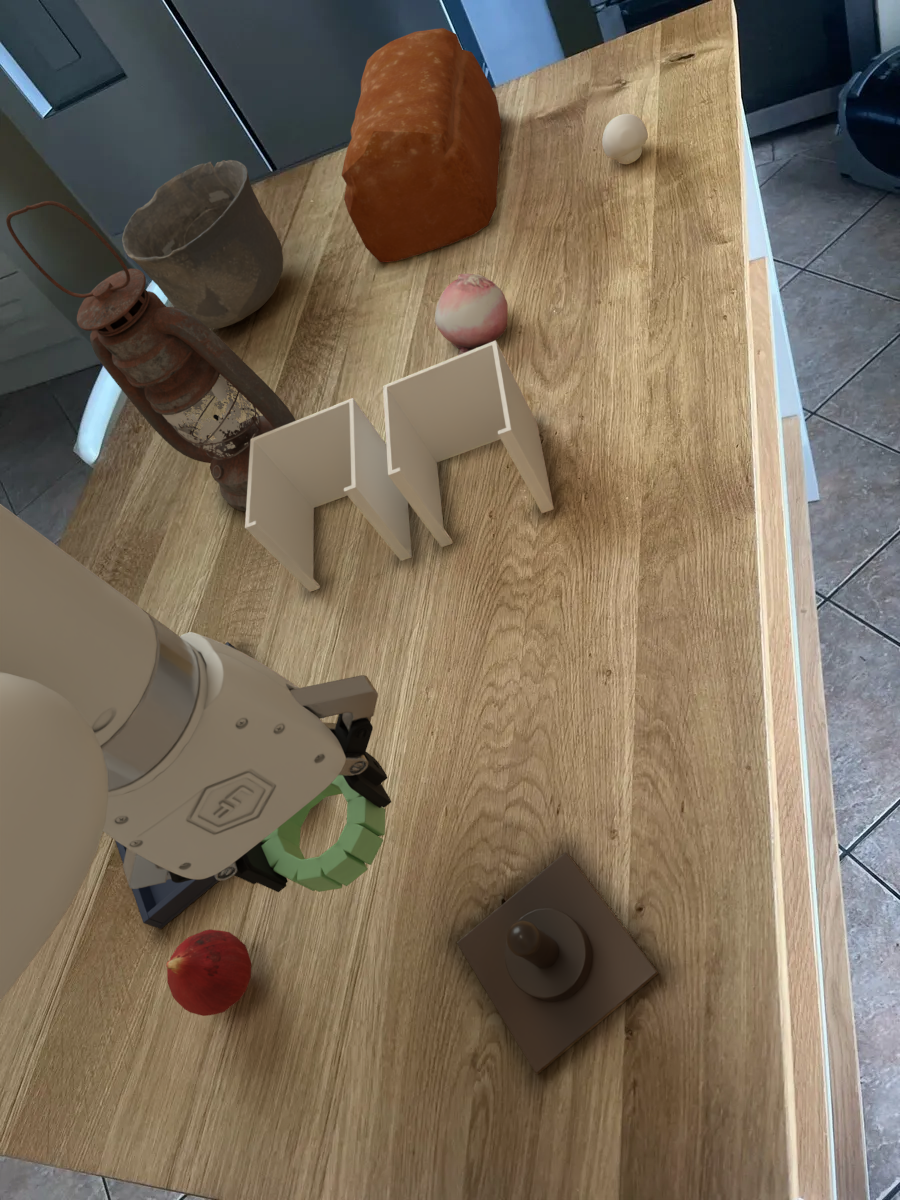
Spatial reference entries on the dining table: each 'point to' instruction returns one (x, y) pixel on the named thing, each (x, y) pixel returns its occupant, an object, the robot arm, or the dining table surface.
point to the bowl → (208, 244)
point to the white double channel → (389, 456)
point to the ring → (338, 860)
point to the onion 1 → (209, 972)
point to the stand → (555, 961)
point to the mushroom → (624, 138)
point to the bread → (422, 147)
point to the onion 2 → (471, 312)
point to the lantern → (175, 371)
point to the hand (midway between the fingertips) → (324, 826)
